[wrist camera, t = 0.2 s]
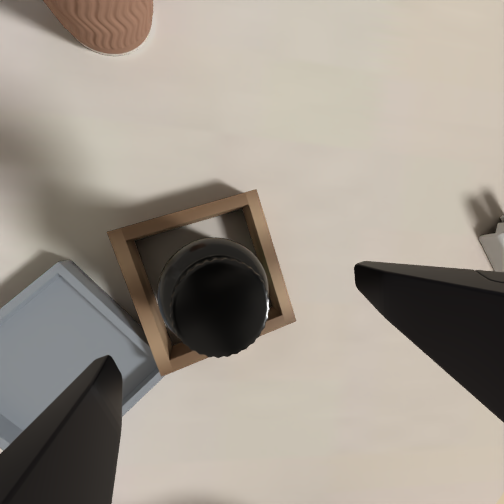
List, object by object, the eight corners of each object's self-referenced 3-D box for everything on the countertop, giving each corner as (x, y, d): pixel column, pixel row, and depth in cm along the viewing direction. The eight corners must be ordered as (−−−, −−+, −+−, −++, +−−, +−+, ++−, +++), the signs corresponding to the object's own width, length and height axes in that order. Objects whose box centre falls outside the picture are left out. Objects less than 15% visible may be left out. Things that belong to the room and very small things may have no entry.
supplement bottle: (249, 245, 25) (301, 249, 13) (237, 315, 25) (277, 383, 13) (176, 232, 23) (159, 223, 11) (163, 307, 23) (132, 376, 11)
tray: (174, 357, 23) (172, 368, 21) (63, 462, 22) (50, 484, 20) (70, 259, 21) (58, 261, 19) (-62, 368, 19) (-91, 382, 17)
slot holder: (284, 312, 26) (296, 321, 23) (165, 359, 23) (161, 376, 20) (248, 195, 24) (256, 189, 21) (118, 233, 22) (106, 231, 19)
